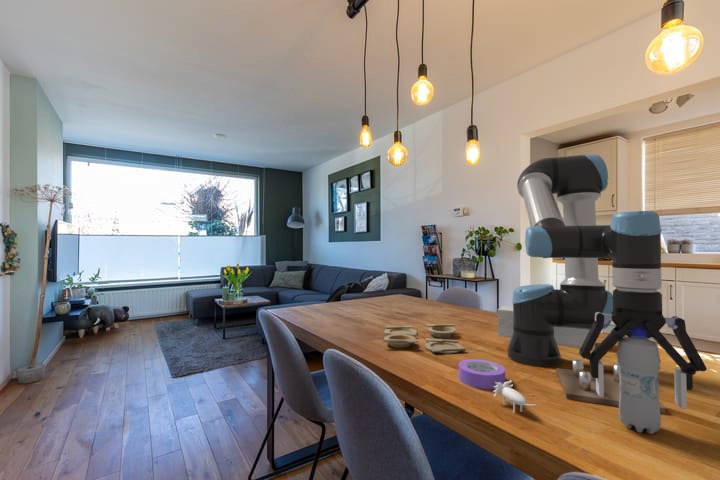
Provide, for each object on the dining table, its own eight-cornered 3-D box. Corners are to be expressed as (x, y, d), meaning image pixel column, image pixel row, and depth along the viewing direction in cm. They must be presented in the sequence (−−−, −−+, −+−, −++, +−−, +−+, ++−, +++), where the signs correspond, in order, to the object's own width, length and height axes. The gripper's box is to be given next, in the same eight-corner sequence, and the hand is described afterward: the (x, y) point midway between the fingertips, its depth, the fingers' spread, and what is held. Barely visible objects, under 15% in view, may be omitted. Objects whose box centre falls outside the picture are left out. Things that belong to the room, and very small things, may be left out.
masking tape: (512, 380, 90) (512, 366, 90) (494, 394, 81) (494, 378, 81) (471, 369, 98) (470, 356, 98) (450, 381, 89) (450, 366, 90)
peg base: (566, 398, 78) (566, 393, 78) (556, 372, 95) (556, 368, 95) (665, 413, 71) (665, 408, 71) (635, 382, 87) (635, 377, 88)
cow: (488, 399, 78) (488, 379, 78) (508, 397, 79) (508, 377, 79) (524, 426, 66) (524, 402, 66) (547, 423, 67) (547, 399, 67)
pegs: (580, 390, 80) (580, 373, 80) (571, 373, 90) (571, 359, 90) (640, 398, 75) (639, 380, 75) (623, 380, 86) (623, 364, 86)
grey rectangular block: (497, 336, 135) (497, 309, 135) (504, 330, 143) (503, 305, 144) (594, 350, 116) (594, 319, 116) (595, 343, 125) (594, 314, 125)
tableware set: (385, 329, 148) (385, 319, 148) (453, 331, 144) (453, 321, 144) (379, 353, 113) (379, 341, 113) (468, 357, 109) (468, 345, 109)
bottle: (609, 419, 69) (607, 321, 69) (639, 418, 69) (637, 321, 70) (639, 438, 62) (636, 329, 62) (672, 436, 62) (669, 328, 63)
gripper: (568, 288, 68) (570, 396, 67) (731, 295, 58) (735, 421, 57) (562, 285, 75) (564, 382, 74) (707, 290, 65) (710, 403, 64)
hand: (638, 399), depth 66 cm, fingers open, 12 cm apart
